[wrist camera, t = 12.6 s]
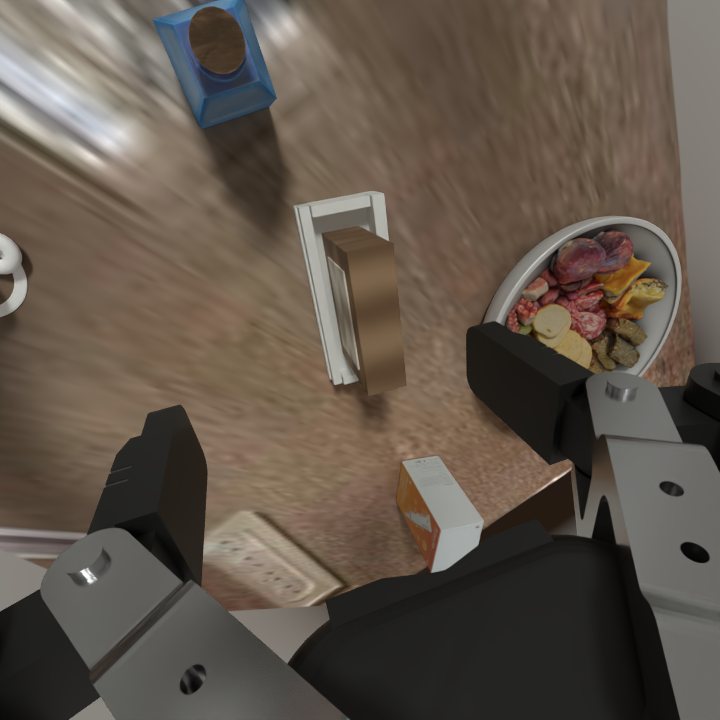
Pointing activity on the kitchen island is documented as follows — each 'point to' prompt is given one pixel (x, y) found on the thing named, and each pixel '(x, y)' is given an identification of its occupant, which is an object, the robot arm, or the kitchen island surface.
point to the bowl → (595, 293)
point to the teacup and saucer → (12, 264)
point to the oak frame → (366, 306)
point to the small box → (437, 512)
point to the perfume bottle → (217, 60)
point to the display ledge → (311, 224)
